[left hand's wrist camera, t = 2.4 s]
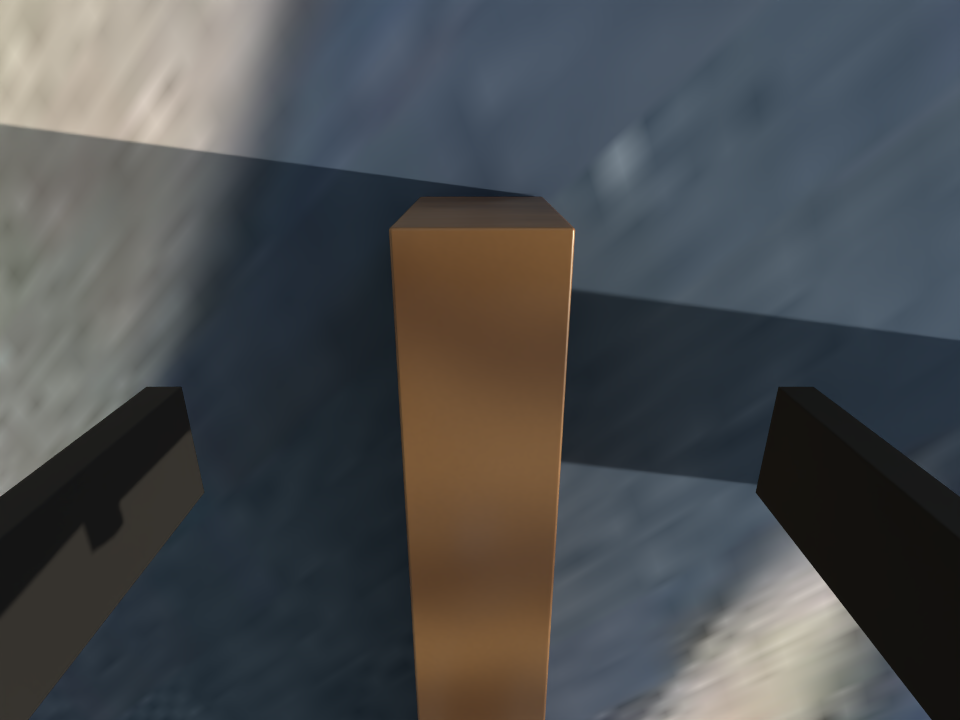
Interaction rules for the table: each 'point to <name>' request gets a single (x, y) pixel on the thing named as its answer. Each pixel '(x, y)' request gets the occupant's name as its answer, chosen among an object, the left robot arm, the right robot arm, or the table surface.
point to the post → (481, 444)
